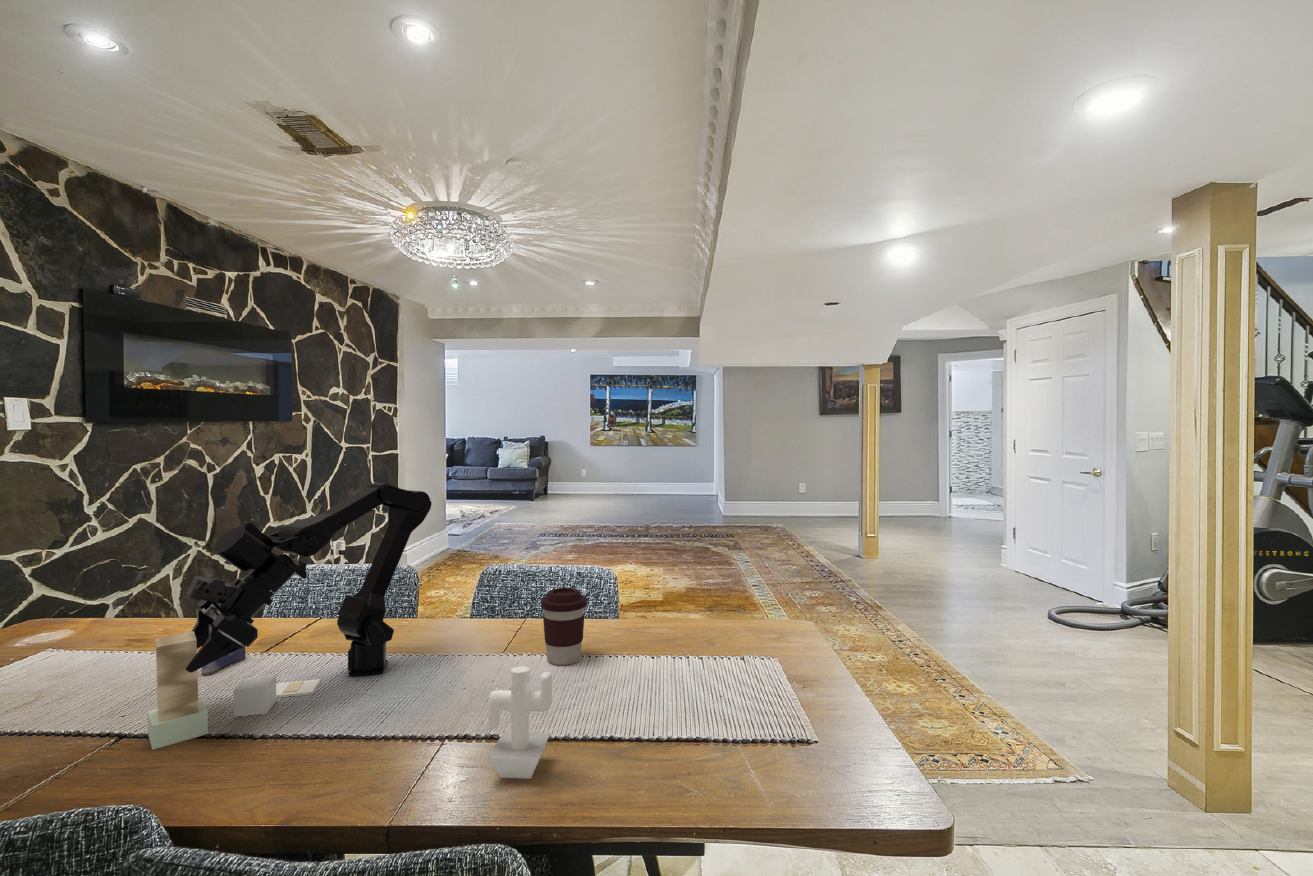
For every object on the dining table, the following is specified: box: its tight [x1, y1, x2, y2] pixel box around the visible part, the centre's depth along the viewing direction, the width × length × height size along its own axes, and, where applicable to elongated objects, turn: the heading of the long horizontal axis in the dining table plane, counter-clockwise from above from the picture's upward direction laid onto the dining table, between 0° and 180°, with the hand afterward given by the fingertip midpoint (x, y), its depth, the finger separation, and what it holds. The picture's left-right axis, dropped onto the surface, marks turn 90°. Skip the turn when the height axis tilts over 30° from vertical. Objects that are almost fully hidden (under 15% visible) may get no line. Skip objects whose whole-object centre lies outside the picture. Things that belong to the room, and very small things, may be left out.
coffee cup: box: [540, 587, 588, 666], centre depth 130 cm, size 10×10×15 cm
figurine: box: [487, 665, 553, 780], centre depth 88 cm, size 7×9×15 cm
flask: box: [201, 643, 247, 676], centre depth 127 cm, size 10×3×12 cm, turn 172°
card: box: [276, 678, 322, 699], centre depth 115 cm, size 8×6×1 cm
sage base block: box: [147, 697, 209, 750], centre depth 98 cm, size 7×7×4 cm
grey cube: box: [233, 674, 277, 718], centre depth 107 cm, size 5×5×5 cm
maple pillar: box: [155, 631, 199, 722], centre depth 98 cm, size 5×5×12 cm
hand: (183, 663), depth 99 cm, fingers open, 9 cm apart
